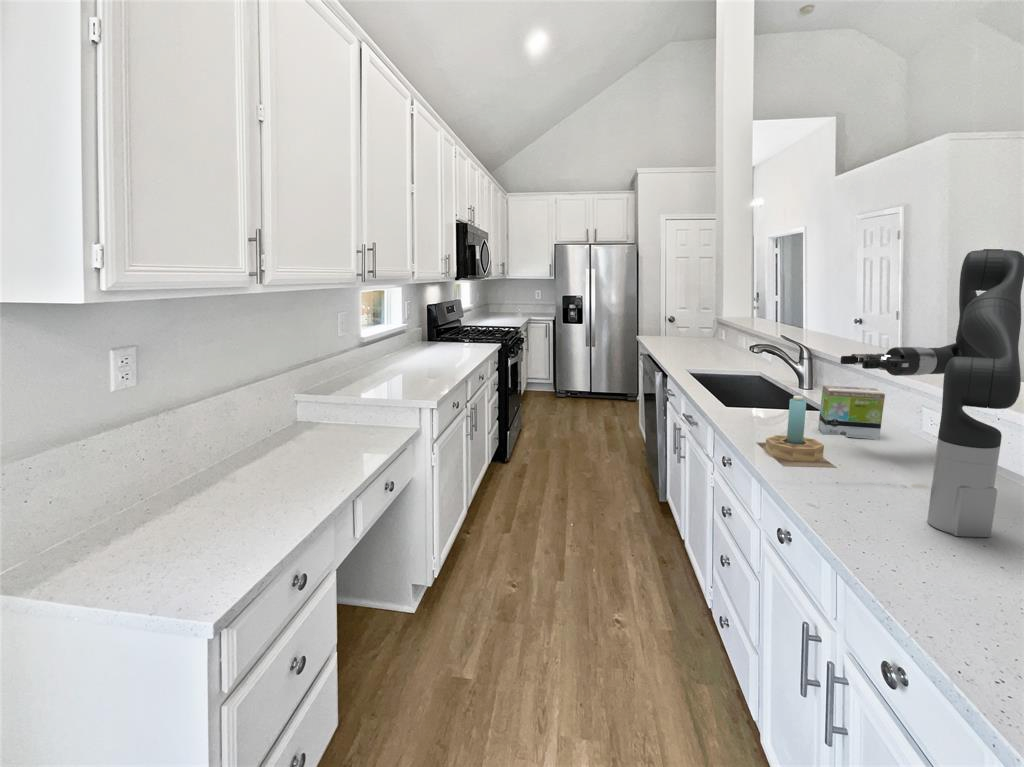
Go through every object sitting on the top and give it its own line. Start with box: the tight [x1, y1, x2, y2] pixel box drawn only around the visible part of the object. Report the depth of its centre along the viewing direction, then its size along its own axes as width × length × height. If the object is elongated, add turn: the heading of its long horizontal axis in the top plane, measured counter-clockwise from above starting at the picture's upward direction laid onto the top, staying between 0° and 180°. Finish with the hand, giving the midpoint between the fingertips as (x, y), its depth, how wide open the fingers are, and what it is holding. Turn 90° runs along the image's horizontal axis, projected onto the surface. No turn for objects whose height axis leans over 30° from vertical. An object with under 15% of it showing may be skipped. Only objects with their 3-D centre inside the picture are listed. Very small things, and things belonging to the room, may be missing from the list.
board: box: [755, 441, 838, 469], centre depth 152 cm, size 22×13×1 cm, turn 174°
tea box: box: [818, 385, 886, 440], centre depth 174 cm, size 15×10×15 cm
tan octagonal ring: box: [764, 434, 825, 462], centre depth 152 cm, size 13×13×4 cm
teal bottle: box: [786, 395, 808, 445], centre depth 151 cm, size 4×4×16 cm
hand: (852, 362), depth 146 cm, fingers open, 8 cm apart
